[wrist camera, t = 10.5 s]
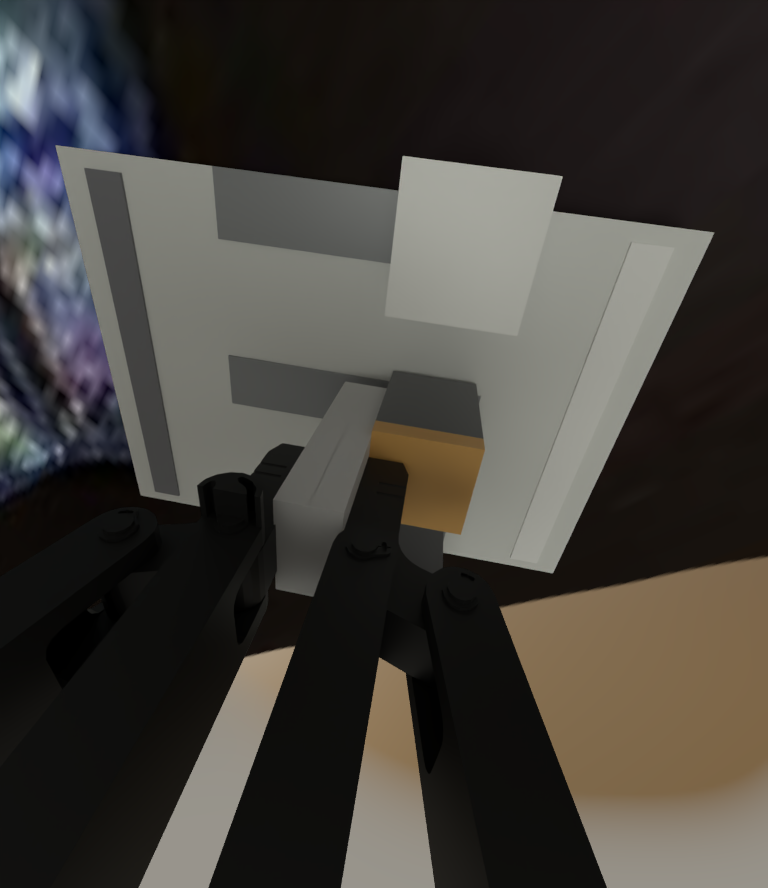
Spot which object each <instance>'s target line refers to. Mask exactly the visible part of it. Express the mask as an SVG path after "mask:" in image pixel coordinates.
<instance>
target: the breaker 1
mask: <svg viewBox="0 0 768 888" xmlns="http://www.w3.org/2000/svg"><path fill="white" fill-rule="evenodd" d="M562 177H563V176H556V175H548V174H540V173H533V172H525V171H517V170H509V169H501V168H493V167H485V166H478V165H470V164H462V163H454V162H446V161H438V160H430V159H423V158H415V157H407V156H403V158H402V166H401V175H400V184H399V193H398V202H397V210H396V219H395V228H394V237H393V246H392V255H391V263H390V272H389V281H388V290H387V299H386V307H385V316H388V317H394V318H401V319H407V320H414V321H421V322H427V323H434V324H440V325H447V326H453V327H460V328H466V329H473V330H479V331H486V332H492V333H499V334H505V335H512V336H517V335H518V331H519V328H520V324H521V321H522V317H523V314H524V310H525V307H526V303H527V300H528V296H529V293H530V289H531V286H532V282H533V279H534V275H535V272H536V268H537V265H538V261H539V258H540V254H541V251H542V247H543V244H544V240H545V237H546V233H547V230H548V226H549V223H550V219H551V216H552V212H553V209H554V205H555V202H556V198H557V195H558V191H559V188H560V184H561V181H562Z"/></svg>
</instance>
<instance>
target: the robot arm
mask: <svg viewBox="0 0 768 888" xmlns="http://www.w3.org/2000/svg"><path fill="white" fill-rule="evenodd" d="M386 390H387V388H382V387H376V386H369V385H364V384H357V383H351V382H345V383H344V384H343V386H342V388H341V389H340V391H339V393H338V394H337V396H336V397H335V399H334V401H333V402H332V404H331V406H330V407H329V409H328V411H327V412H326V414H325V415H324V417H323V419H322V420H321V422H320V424H319V425H318V427H317V428H316V430H315V432H314V433H313V435H312V437H311V438H310V440H309V442H308V443H307V445H306V446H305V447H302V446H297V445H291V444H285V443H282V444H280V445H278V446H277V447H275V448H273V449H271V450H270V451H268V453H267V454H266V455H265V457H264V458H263V459H262V461H261V463H260V464H259V465H258V466H257V467H256V469H255V470H254V473H252V474H251V475H248V474H245V473H237V472H228V473H221V474H216V475H214V476H211V477H209V478H206V479H205V480H203V481H202V482H201V483H199V484H198V485H197V490H198V496H199V503H200V510H201V516H202V517H201V518H200V519H199V521H198V522H196V523H188V524H172V525H158V523H157V520H156V516H155V514H153V513H152V512H150V511H149V510H148V509H143V508H139V507H125V508H119V509H115V510H111V511H108V512H106V513H104V514H102V515H100V516H98V517H96V518H94V519H92V520H91V521H89V522H87V523H86V524H84V525H83V526H81V527H79V528H78V529H76V530H75V531H73V532H71V533H70V534H68V535H67V536H65V537H63V538H62V539H60V540H59V541H57V542H55V543H54V544H52V545H51V546H49V547H47V548H46V549H44V550H43V551H41V552H39V553H38V554H36V555H35V556H33V557H31V558H30V559H28V560H26V561H25V562H23V563H22V564H20V565H18V566H17V567H15V568H14V569H12V570H10V571H9V572H7V573H6V574H4V575H2V576H1V577H0V888H138V887H139V885H140V883H141V881H142V879H143V876H144V874H145V872H146V870H147V868H148V865H149V863H150V861H151V859H152V857H153V855H154V852H155V850H156V848H157V846H158V844H159V841H160V839H161V837H162V835H163V833H164V831H165V829H166V826H167V824H168V822H169V820H170V818H171V815H172V813H173V811H174V809H175V807H176V805H177V802H178V800H179V798H180V796H181V794H182V792H183V789H184V787H185V785H186V783H187V781H188V779H189V776H190V774H191V772H192V770H193V767H194V765H195V763H196V761H197V759H198V757H199V755H200V752H201V750H202V748H203V746H204V743H205V742H206V739H207V737H208V735H209V733H210V731H211V728H212V726H213V724H214V722H215V720H216V717H217V715H218V713H219V711H220V709H221V707H222V704H223V702H224V700H225V698H226V696H227V694H228V691H229V689H230V687H231V685H232V683H233V681H234V678H235V676H236V674H237V672H238V670H239V667H240V665H241V663H242V661H243V659H244V657H245V655H246V652H247V650H248V648H249V646H250V644H251V641H252V639H253V637H254V635H255V633H256V631H257V628H258V626H259V624H260V622H261V620H262V618H263V615H264V613H265V611H266V608H267V604H268V589H269V586H270V584H271V582H272V580H273V578H274V576H275V579H276V589H279V590H284V591H288V592H293V593H298V594H303V595H308V596H313V599H312V602H311V604H310V607H309V610H308V613H307V615H306V618H305V621H304V624H303V627H302V629H301V632H300V635H299V638H298V640H297V643H296V646H295V649H294V652H293V654H292V657H291V660H290V663H289V665H288V668H287V671H286V674H285V677H284V680H283V682H282V685H281V688H280V691H279V693H278V696H277V699H276V702H275V704H274V707H273V710H272V713H271V716H270V718H269V721H268V724H267V727H266V730H265V732H264V735H263V738H262V740H261V743H260V746H259V749H258V752H257V754H256V757H255V760H254V763H253V766H252V768H251V771H250V774H249V777H248V779H247V782H246V785H245V788H244V790H243V793H242V796H241V799H240V802H239V804H238V807H237V810H236V813H235V815H234V818H233V821H232V824H231V827H230V829H229V832H228V835H227V838H226V840H225V843H224V846H223V849H222V852H221V855H220V857H219V860H218V863H217V866H216V868H215V871H214V874H213V877H212V879H211V882H210V885H209V888H341V883H342V877H343V871H344V864H345V859H346V853H347V846H348V840H349V835H350V828H351V823H352V817H353V810H354V804H355V798H356V792H357V786H358V780H359V774H360V768H361V762H362V756H363V750H364V744H365V737H366V732H367V726H368V720H369V714H370V708H371V702H372V696H373V690H374V684H375V678H376V672H377V666H378V660H379V657H380V658H382V659H383V660H385V661H387V662H388V663H390V664H392V665H393V666H395V667H397V668H398V669H400V670H402V671H404V672H405V673H406V678H407V685H408V693H409V700H410V707H411V715H412V722H413V729H414V736H415V743H416V750H417V758H418V766H419V773H420V780H421V787H422V795H423V802H424V810H425V817H426V824H427V832H428V839H429V846H430V853H431V860H432V868H433V875H434V882H435V888H607V887H606V884H605V882H604V879H603V876H602V874H601V871H600V869H599V866H598V863H597V861H596V858H595V856H594V853H593V850H592V848H591V845H590V842H589V840H588V837H587V835H586V832H585V829H584V827H583V824H582V822H581V819H580V816H579V814H578V811H577V808H576V806H575V803H574V801H573V798H572V795H571V793H570V790H569V788H568V785H567V782H566V780H565V777H564V775H563V772H562V769H561V767H560V765H559V762H558V759H557V756H556V754H555V751H554V749H553V746H552V743H551V741H550V738H549V736H548V733H547V730H546V728H545V725H544V722H543V720H542V717H541V715H540V712H539V709H538V707H537V704H536V702H535V699H534V697H533V694H532V691H531V688H530V686H529V683H528V681H527V678H526V675H525V673H524V670H523V668H522V665H521V663H520V660H519V657H518V655H517V652H516V649H515V647H514V644H513V642H512V639H511V636H510V634H509V631H508V628H507V626H506V623H505V621H504V618H503V615H502V613H501V610H500V608H499V605H498V602H497V600H496V597H495V595H494V593H493V591H492V589H491V588H490V586H489V585H488V583H487V582H486V581H485V580H483V579H482V578H481V577H480V576H479V575H478V574H476V573H473V572H471V571H469V570H467V569H464V568H458V567H447V568H441V569H439V570H438V571H436V572H434V573H433V574H432V573H430V572H428V571H426V570H424V569H422V568H420V567H418V566H417V565H415V564H414V563H412V562H411V561H410V560H409V559H408V558H407V557H406V556H405V555H404V553H403V552H402V551H401V548H400V545H399V531H400V525H401V519H402V513H403V506H404V500H405V494H406V488H407V482H408V476H409V474H408V472H407V470H406V468H405V466H404V464H403V463H399V462H394V461H388V460H382V459H377V458H371V457H369V452H370V443H371V434H372V429H373V426H374V423H375V421H376V418H377V415H378V412H379V409H380V406H381V404H382V401H383V398H384V395H385V392H386ZM100 598H101V601H102V602H101V603H100V604H99V605H97V606H95V607H94V608H92V609H87V608H88V607H90V606H91V605H92V604H93V603H95V602H96V601H97V600H98V599H100Z"/></svg>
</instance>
